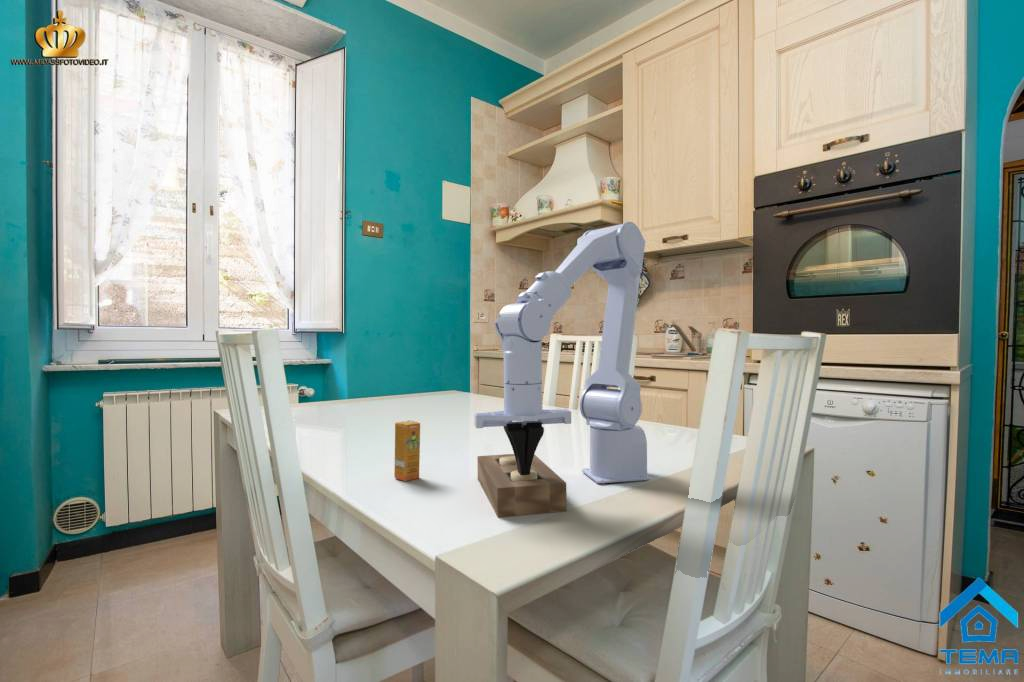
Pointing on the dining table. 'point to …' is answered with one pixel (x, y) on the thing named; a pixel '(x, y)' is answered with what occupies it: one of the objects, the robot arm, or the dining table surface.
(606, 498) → the dining table surface
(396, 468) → the supplement box
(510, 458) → the peg
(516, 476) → the peg
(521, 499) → the wooden peg hole block
